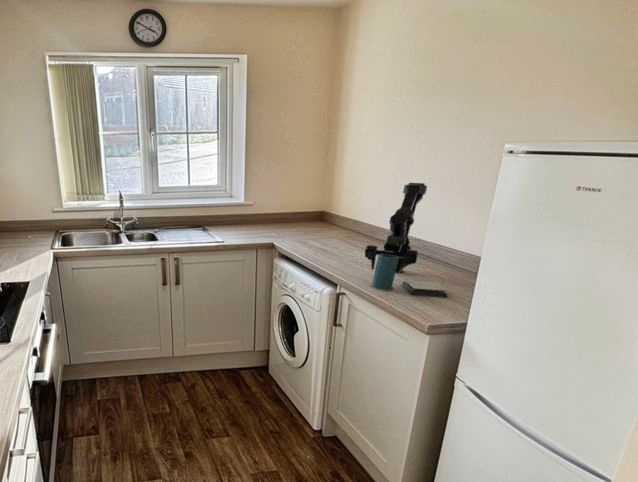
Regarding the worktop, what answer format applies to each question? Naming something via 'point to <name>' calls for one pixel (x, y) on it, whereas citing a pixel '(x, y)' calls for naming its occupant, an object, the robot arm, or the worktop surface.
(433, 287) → the pan
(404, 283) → the scale
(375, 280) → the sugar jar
